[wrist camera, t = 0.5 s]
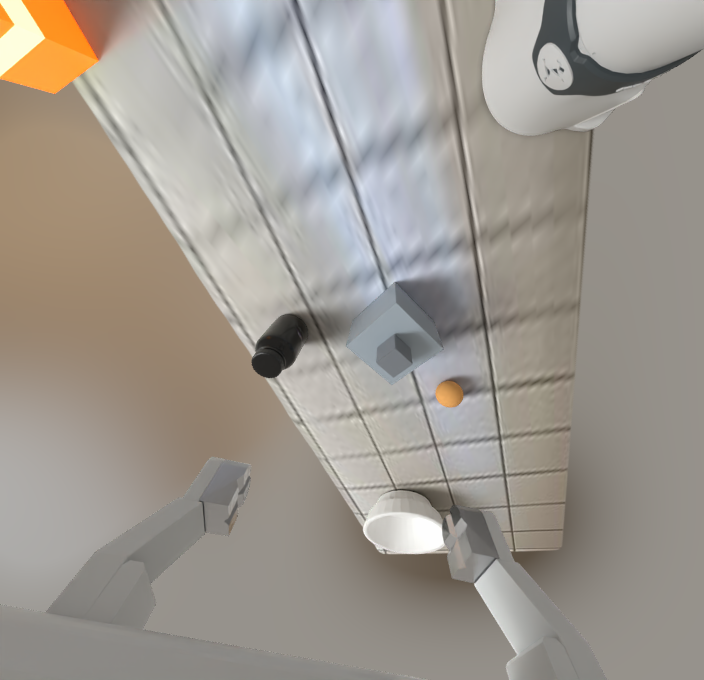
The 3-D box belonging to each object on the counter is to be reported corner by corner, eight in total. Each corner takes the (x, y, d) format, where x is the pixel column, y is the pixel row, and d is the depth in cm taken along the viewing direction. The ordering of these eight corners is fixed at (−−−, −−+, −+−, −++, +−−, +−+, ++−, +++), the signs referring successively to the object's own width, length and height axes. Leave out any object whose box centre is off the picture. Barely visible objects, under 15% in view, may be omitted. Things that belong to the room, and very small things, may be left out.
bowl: (451, 519, 77) (457, 553, 70) (380, 524, 84) (379, 555, 77) (432, 475, 68) (437, 509, 60) (353, 484, 74) (350, 516, 67)
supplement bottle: (316, 331, 49) (297, 369, 39) (293, 350, 52) (270, 390, 42) (289, 305, 47) (261, 339, 37) (267, 327, 50) (236, 363, 40)
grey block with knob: (394, 281, 42) (396, 315, 31) (434, 322, 45) (449, 365, 34) (352, 320, 47) (342, 361, 36) (391, 354, 50) (392, 402, 39)
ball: (449, 371, 50) (455, 388, 46) (465, 386, 51) (472, 404, 47) (428, 384, 52) (432, 402, 48) (444, 398, 54) (448, 416, 49)
